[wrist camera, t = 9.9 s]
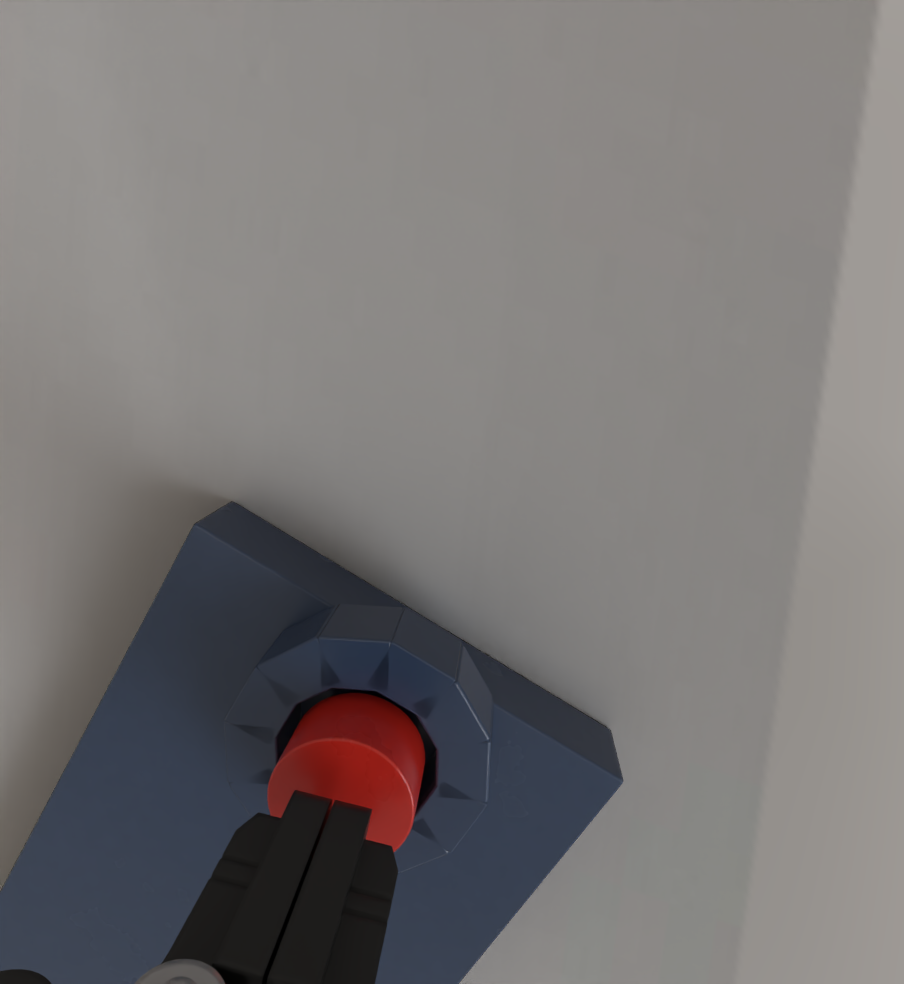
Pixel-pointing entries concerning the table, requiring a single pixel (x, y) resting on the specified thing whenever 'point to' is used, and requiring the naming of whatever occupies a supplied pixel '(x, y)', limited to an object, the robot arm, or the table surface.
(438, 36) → the table surface
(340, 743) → the button
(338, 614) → the button block
